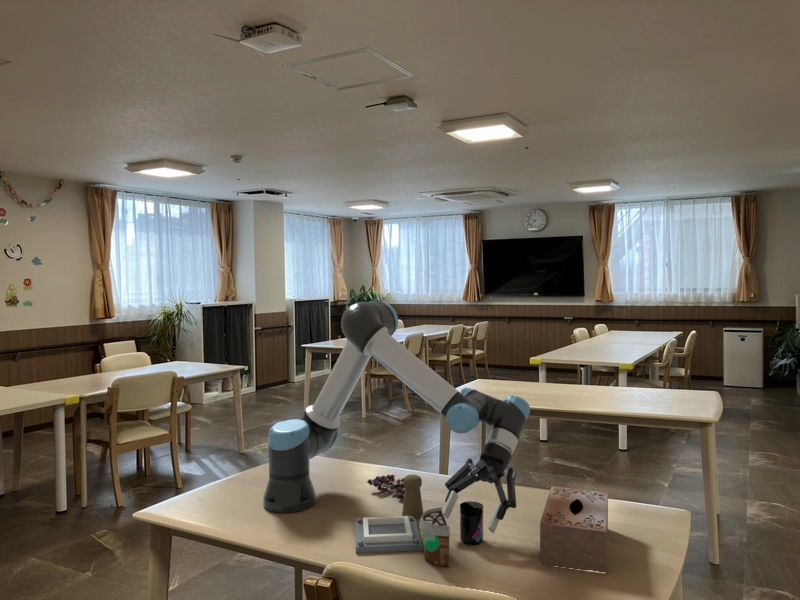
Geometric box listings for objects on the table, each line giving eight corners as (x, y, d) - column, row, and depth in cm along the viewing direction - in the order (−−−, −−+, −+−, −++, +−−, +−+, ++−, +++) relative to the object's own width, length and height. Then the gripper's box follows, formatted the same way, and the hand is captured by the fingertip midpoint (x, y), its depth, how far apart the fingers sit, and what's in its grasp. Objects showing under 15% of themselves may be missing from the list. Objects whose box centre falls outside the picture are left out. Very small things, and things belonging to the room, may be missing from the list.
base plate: (355, 525, 163) (355, 514, 163) (415, 523, 164) (414, 512, 164) (355, 553, 147) (355, 540, 147) (421, 550, 148) (421, 538, 148)
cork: (421, 519, 167) (421, 480, 166) (399, 518, 168) (399, 478, 167) (425, 511, 173) (425, 472, 172) (404, 509, 174) (403, 471, 173)
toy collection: (359, 491, 186) (361, 476, 186) (382, 480, 199) (384, 466, 199) (402, 506, 179) (404, 490, 179) (423, 494, 192) (425, 480, 192)
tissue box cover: (606, 576, 136) (606, 531, 135) (539, 566, 141) (540, 523, 140) (607, 529, 160) (608, 492, 160) (551, 522, 165) (551, 486, 164)
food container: (416, 547, 150) (416, 507, 149) (441, 546, 150) (441, 506, 150) (422, 572, 138) (422, 528, 137) (450, 570, 138) (449, 527, 138)
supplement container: (469, 548, 149) (469, 511, 149) (455, 539, 154) (455, 504, 154) (488, 542, 152) (488, 507, 152) (473, 534, 157) (473, 499, 157)
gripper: (546, 466, 156) (517, 543, 146) (465, 448, 172) (433, 517, 162) (536, 450, 152) (505, 529, 141) (454, 433, 168) (420, 503, 157)
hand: (466, 523), depth 151 cm, fingers open, 13 cm apart
